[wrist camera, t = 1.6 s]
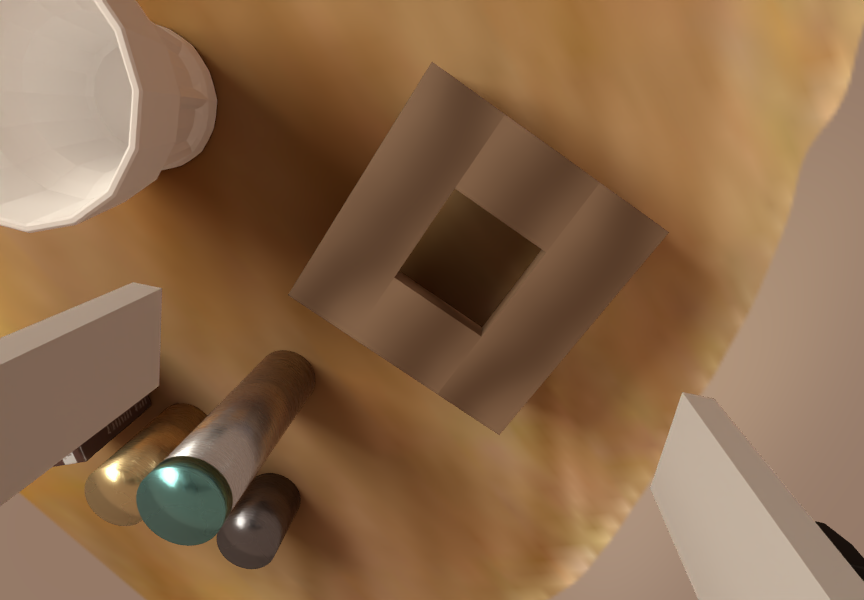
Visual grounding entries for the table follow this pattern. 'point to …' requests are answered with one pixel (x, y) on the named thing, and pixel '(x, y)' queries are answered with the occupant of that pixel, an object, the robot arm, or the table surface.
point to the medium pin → (138, 464)
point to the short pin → (259, 521)
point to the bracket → (506, 200)
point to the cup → (92, 108)
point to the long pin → (224, 452)
